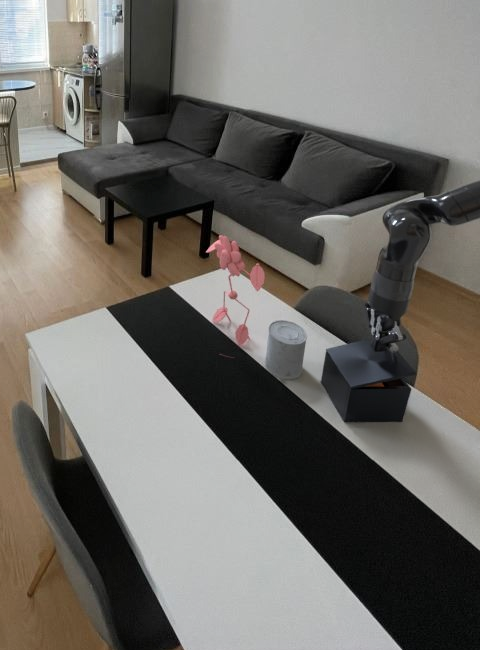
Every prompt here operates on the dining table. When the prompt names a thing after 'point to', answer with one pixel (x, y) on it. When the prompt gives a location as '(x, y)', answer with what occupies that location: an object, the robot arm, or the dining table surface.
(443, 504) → the dining table surface
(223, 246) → the figurine
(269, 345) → the grey tin can
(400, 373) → the bin lid
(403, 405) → the bin
